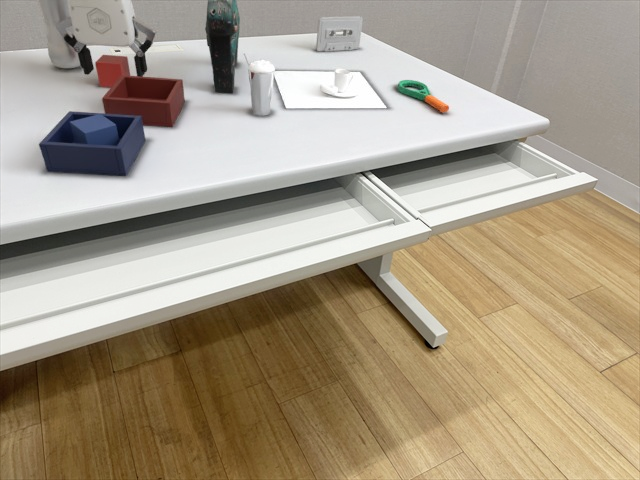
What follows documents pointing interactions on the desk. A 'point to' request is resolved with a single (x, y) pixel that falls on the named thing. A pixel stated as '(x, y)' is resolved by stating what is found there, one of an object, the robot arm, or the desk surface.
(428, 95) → the magnifying glass
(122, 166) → the blue bin
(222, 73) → the power drill
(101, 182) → the desk surface
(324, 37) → the cassette
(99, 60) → the red block
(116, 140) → the blue block
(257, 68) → the milkshake
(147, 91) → the red bin
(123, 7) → the robot arm
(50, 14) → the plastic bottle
